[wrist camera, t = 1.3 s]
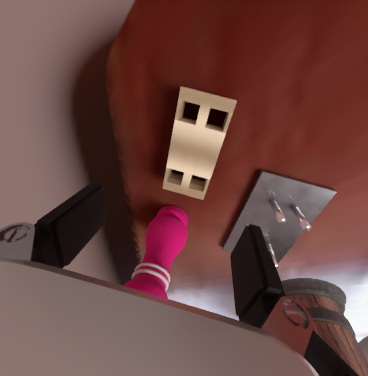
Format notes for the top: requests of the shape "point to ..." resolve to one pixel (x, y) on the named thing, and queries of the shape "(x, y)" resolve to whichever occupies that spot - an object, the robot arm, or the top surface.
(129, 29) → the top surface
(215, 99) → the tan rectangular block
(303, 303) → the tankard
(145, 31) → the top surface
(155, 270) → the pepper mill
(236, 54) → the top surface
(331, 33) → the top surface
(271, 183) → the chassis
